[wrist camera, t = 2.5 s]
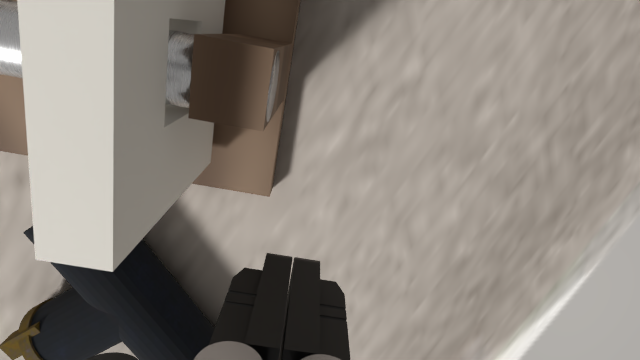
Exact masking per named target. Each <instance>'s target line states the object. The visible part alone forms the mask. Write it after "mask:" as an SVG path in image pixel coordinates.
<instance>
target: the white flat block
mask: <svg viewBox="0 0 640 360" xmlns="http://www.w3.org/2000/svg"><path fill="white" fill-rule="evenodd" d="M17 4H18V18H19V33H20V47H21V61H22V75H23V90H24V104H25V118H26V132H27V147H28V161H29V175H30V190H31V204H32V218H33V232H34V247H35V260H41V261H47V262H54V263H60V264H66V265H73V266H79V267H85V268H91V269H98V270H104V271H110V272H113V271H114V270H115V269H116V268H117V267H118V266H119V264H120V263H121V262H122V261H123V260H124V259H125V258H126V257H127V255H128V254H129V253H130V252H131V251H132V250H133V249H134V248H135V246H136V245H137V244H138V243H139V242H140V241H141V240H142V239H143V238H144V236H145V235H146V234H147V233H148V232H149V231H150V230H151V229H152V227H153V226H154V225H155V224H156V223H157V222H158V221H159V220H160V219H161V217H162V216H163V215H164V214H165V213H166V212H167V211H168V210H169V208H170V207H171V206H172V205H173V204H174V203H175V202H176V201H177V199H178V198H179V197H180V196H181V195H182V194H183V193H184V192H185V191H186V189H187V188H188V187H189V186H190V185H191V184H192V183H193V182H194V180H195V179H196V178H197V177H198V176H199V175H200V174H201V173H202V172H203V170H204V169H205V168H206V167H207V166H208V165H209V164H210V163H211V152H212V141H213V130H214V123H212V122H207V121H201V120H195V119H190V118H188V116H189V108H186V107H180V106H174V105H169V104H165V100H166V80H167V59H168V39H169V30H173V31H179V32H184V33H189V34H222V31H223V20H224V10H225V0H17Z"/></svg>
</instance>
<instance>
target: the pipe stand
mask: <svg viewBox="0 0 640 360" xmlns="http://www.w3.org/2000/svg"><path fill="white" fill-rule="evenodd" d="M14 1H17V0H14ZM299 6H300V0H225V10H224V20H223V31H222V34H194V43H193V57H192V72H191V86H190V101H189V116H188V118H190V119H195V120H201V121H207V122H212V123H214V130H213V141H212V152H211V163H210V164H209V165H208V166H207V167H206V168H205V169H204V170H203V172H202V173H201V174H200V175H199V176H198V177H197V178H196V179H195V180H194V182H193V183H192V184H198V185H204V186H210V187H216V188H222V189H227V190H233V191H239V192H245V193H251V194H257V195H263V196H268V197H270V194H271V191H272V187H273V181H274V174H275V167H276V161H277V154H278V147H279V141H280V134H281V127H282V120H283V114H284V107H285V100H286V94H287V87H288V80H289V74H290V67H291V60H292V53H293V47H294V40H295V33H296V27H297V20H298V13H299ZM278 50H279V59H280V60H279V73H278V81H277V88H276V94H275V100H274V104H273V109H272V113H271V116H270V119H269V121H268V122H267V118H266V113H267V100H268V92H269V85H270V79H271V73H272V68H273V64H274V60H275V56H276V53H277V51H278ZM245 87H246V88H245ZM0 151H4V152H10V153H16V154H22V155H28V147H27V132H26V118H25V104H24V90H23V78H18V77H12V76H7V75H1V74H0Z"/></svg>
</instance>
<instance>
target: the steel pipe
mask: <svg viewBox="0 0 640 360" xmlns="http://www.w3.org/2000/svg"><path fill="white" fill-rule="evenodd" d="M193 43H194V34H189V33H184V32H179V31H173V30H169V39H168V59H167V80H166V100H165V104H169V105H174V106H180V107H186V108H189V101H190V86H191V72H192V57H193ZM279 60H280V59H279V50H278V51H277V53H276V56H275V60H274V64H273V68H272V73H271V79H270V85H269V92H268V100H267V113H266V118H267V122H268V121H269V119H270V116H271V113H272V109H273V104H274V100H275V94H276V88H277V81H278V73H279ZM0 74H1V75H7V76H12V77H18V78H23V75H22V61H21V47H20V33H19V18H18V4H17V1H14V0H0ZM245 88H246V87H245Z"/></svg>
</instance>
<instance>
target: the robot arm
mask: <svg viewBox="0 0 640 360" xmlns="http://www.w3.org/2000/svg"><path fill="white" fill-rule="evenodd" d="M291 264H292V257H289V256H283V255H277V254H270V253H267V255H266V259H265V263H264V267H263V271H262V270H256V269H249V268H244V269H243V270H242V271H240V272H239V273H238V274H237V275H236V276H234V277H233V279H232V282H231V285H230V288H229V291H228V293H227V296H226V299H225V302H224V304H223V307H222V310H221V312H220V315H219V318H218V321H217V323H216V326H215V329H214V332H213V335H212V337H211V340H210V343H209V345H208V346H207V347H206V348H204V349H203V350H201V351H200V352H199V353H198V354H197V355H196V357H195V359H194V360H350V352H349V340H348V329H347V322H346V319H347V318H346V310H345V308H346V307H345V296H344V293H343V292H342V290H341V289H340V287H339V286H338V284H337V283H336V282H333V281H327V280H321V279H320V261H315V260H309V259H303V258H296V257H295V258H294V262H293V268H292V273H291V279H290V272H291ZM289 279H290V284H289ZM288 287H289V290H288ZM287 295H288V296H287ZM85 360H138V359H137V358H135V357H134V356H131V355H128V354H124V353H104V354H99V355H96V356H92V357H90V358H88V359H85Z"/></svg>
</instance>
